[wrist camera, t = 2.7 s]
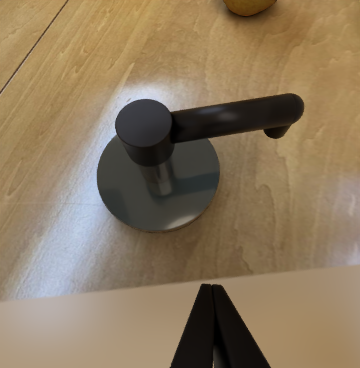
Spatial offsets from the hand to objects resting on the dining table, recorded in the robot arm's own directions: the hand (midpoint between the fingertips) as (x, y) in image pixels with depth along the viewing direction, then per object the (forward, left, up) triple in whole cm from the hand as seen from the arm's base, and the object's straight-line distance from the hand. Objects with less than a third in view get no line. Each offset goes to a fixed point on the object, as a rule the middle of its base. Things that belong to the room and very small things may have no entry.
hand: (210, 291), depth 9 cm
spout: (+10, -3, -6) cm, 12 cm away
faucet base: (+10, +2, -11) cm, 15 cm away
